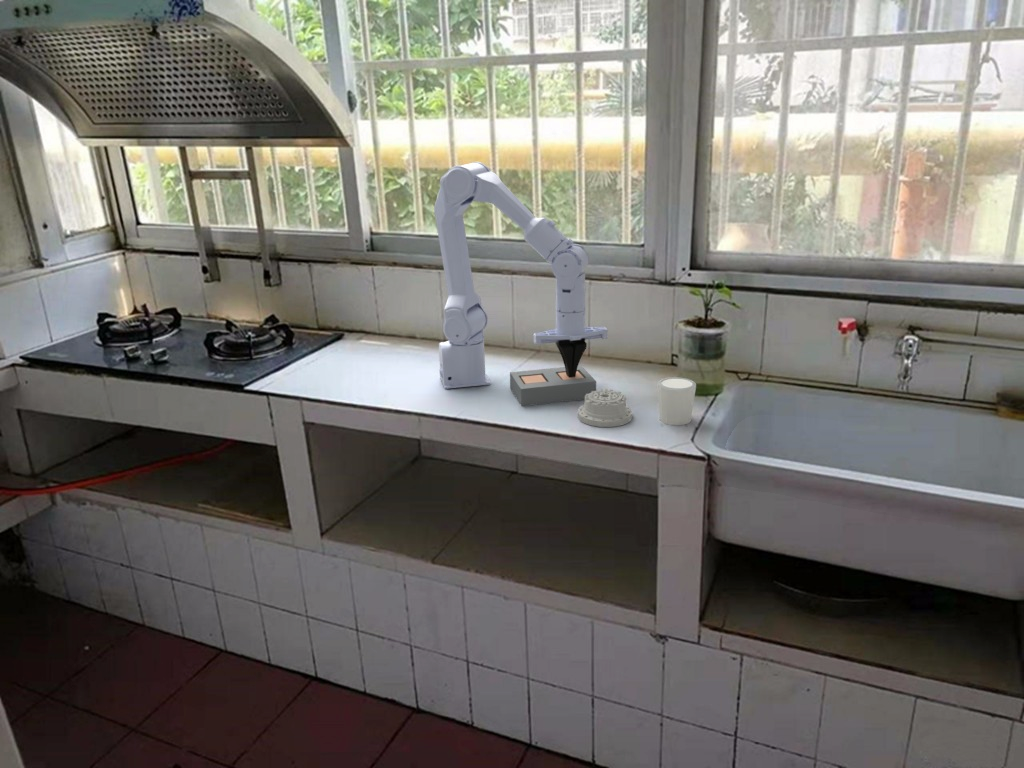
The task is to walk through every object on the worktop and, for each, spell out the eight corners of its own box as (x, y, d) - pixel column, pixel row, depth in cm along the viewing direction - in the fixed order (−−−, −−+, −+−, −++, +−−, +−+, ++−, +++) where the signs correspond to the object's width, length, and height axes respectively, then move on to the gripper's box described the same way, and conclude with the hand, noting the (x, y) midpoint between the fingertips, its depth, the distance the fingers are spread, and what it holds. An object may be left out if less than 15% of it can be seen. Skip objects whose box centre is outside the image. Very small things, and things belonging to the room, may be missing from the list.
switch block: (521, 406, 153) (520, 388, 151) (510, 388, 162) (509, 372, 161) (596, 398, 156) (596, 381, 154) (581, 381, 165) (581, 365, 164)
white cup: (699, 425, 142) (701, 388, 139) (661, 427, 141) (662, 390, 139) (688, 411, 148) (690, 375, 146) (651, 413, 148) (653, 377, 145)
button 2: (563, 395, 157) (563, 379, 156) (557, 388, 161) (557, 373, 160) (583, 392, 158) (583, 377, 157) (577, 385, 162) (577, 371, 161)
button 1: (525, 399, 156) (525, 383, 154) (521, 391, 159) (520, 376, 158) (546, 396, 156) (546, 381, 155) (541, 389, 160) (541, 374, 159)
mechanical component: (575, 427, 143) (631, 429, 141) (575, 404, 141) (631, 406, 140) (580, 407, 152) (633, 409, 150) (580, 385, 151) (633, 387, 149)
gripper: (539, 317, 149) (540, 385, 153) (613, 311, 151) (612, 378, 156) (530, 308, 155) (531, 374, 160) (601, 302, 158) (600, 367, 162)
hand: (570, 375), depth 158 cm, fingers closed, pressing on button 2
